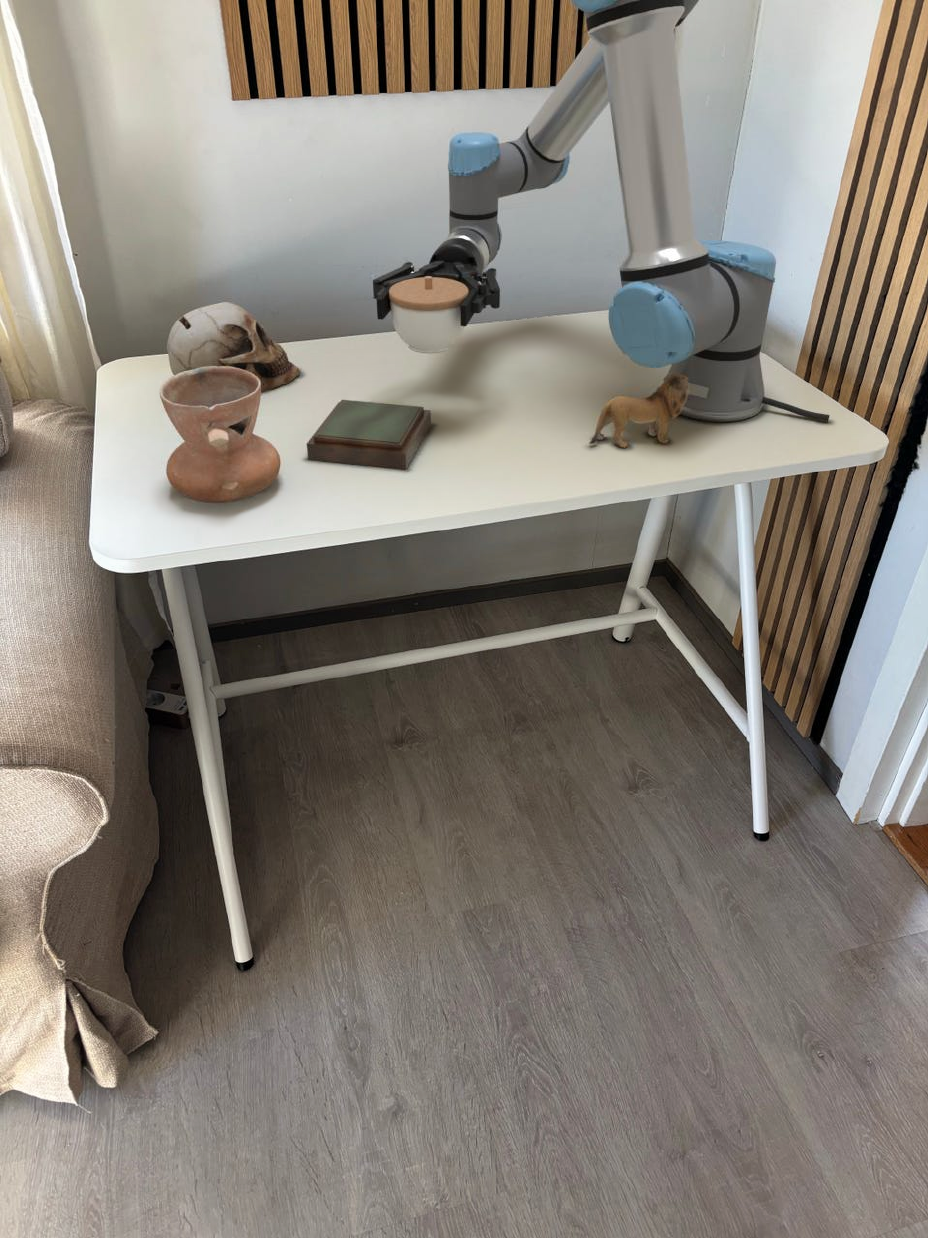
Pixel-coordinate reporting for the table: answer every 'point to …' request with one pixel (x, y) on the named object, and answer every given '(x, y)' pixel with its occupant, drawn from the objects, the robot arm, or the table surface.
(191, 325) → the coin bank
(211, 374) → the orange-brown waisted vessel
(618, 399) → the lion figurine
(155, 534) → the table surface
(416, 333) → the lidded bowl
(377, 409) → the holder
